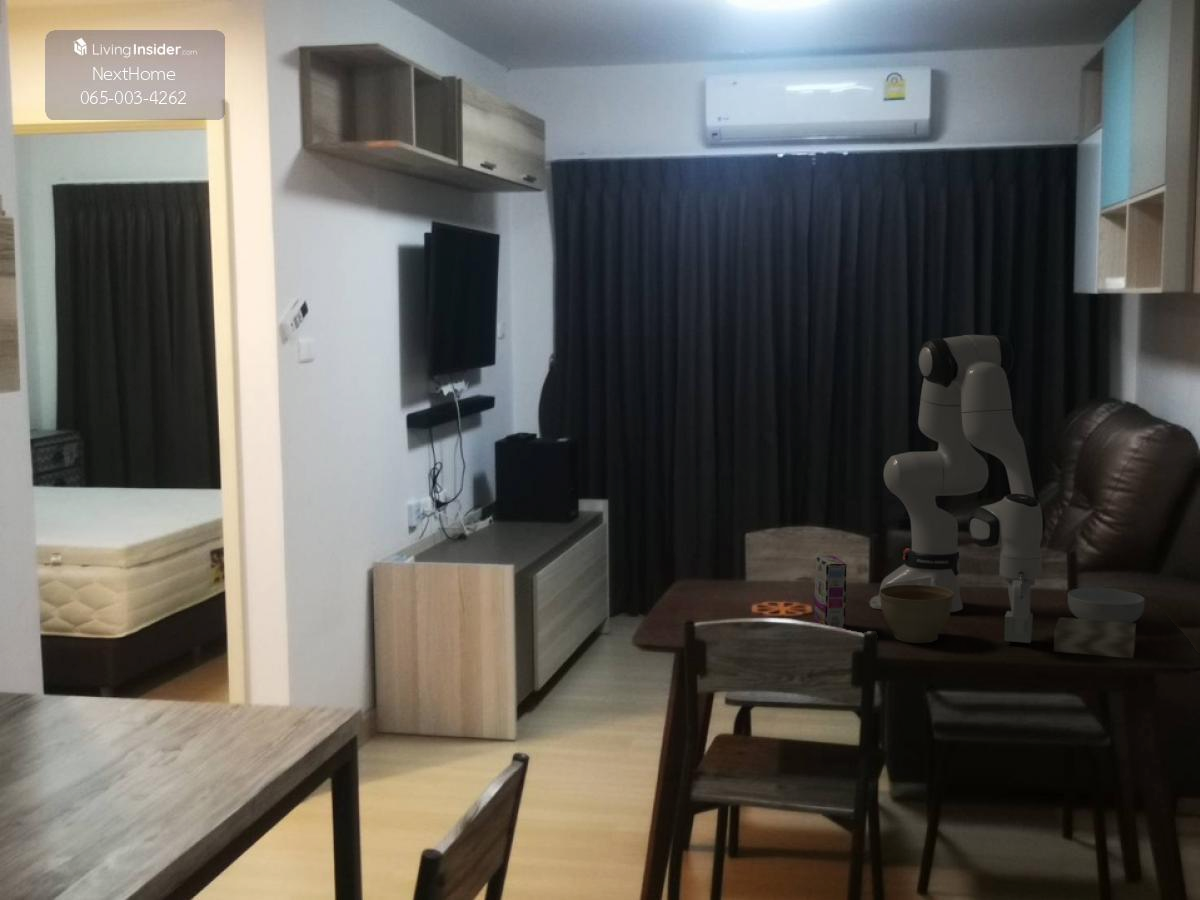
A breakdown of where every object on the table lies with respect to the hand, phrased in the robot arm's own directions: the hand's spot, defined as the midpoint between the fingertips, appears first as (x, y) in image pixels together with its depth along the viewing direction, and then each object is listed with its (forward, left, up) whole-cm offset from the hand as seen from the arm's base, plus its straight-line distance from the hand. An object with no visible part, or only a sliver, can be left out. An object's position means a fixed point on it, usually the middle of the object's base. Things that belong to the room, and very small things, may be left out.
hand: (1018, 629), depth 298 cm
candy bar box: (-42, 0, -3) cm, 42 cm away
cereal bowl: (+18, +25, -3) cm, 31 cm away
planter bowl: (-22, -3, -3) cm, 22 cm away
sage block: (0, 0, -2) cm, 2 cm away
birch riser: (+16, +2, -4) cm, 16 cm away
